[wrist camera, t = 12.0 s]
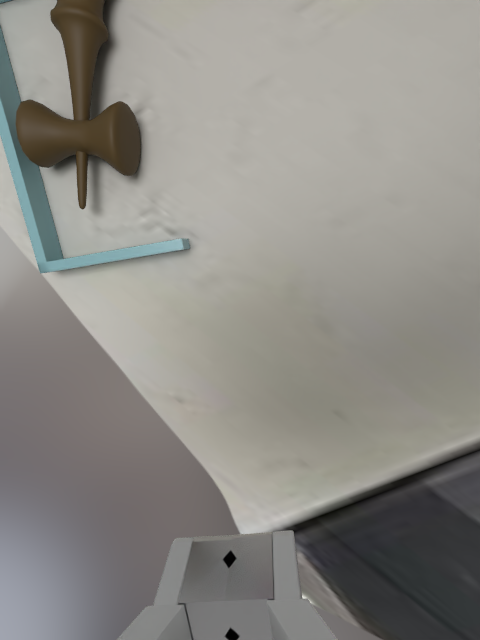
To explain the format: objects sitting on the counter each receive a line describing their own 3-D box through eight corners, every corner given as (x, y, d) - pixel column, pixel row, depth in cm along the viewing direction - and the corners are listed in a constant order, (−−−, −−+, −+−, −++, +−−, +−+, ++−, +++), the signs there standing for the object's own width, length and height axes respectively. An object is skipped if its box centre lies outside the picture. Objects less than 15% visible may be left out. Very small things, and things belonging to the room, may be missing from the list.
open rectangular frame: (134, -46, 30) (119, -78, 27) (190, 248, 35) (183, 249, 32) (-19, -6, 31) (-48, -31, 28) (58, 270, 37) (40, 273, 34)
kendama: (148, -8, 31) (142, 216, 35) (49, -11, 31) (54, 209, 35) (119, -70, 25) (116, 208, 29) (-2, -72, 26) (12, 200, 30)
